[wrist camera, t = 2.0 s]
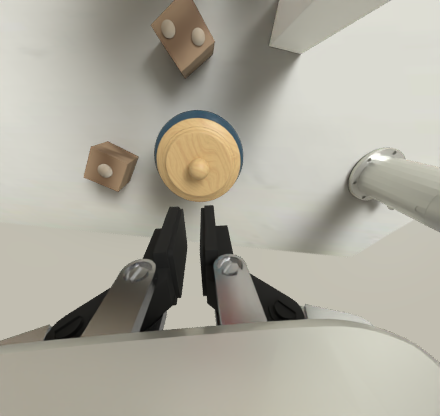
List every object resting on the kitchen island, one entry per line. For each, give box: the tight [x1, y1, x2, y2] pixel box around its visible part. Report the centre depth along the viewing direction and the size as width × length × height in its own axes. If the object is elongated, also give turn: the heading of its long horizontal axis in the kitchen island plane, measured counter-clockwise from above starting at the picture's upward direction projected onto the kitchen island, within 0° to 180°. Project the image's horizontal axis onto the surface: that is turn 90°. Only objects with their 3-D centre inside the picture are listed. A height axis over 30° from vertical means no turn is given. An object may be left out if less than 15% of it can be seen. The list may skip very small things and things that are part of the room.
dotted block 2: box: [151, 0, 215, 79], centre depth 26 cm, size 6×6×6 cm
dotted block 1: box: [84, 142, 138, 192], centre depth 34 cm, size 6×6×6 cm
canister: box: [154, 110, 243, 202], centre depth 29 cm, size 13×13×18 cm
